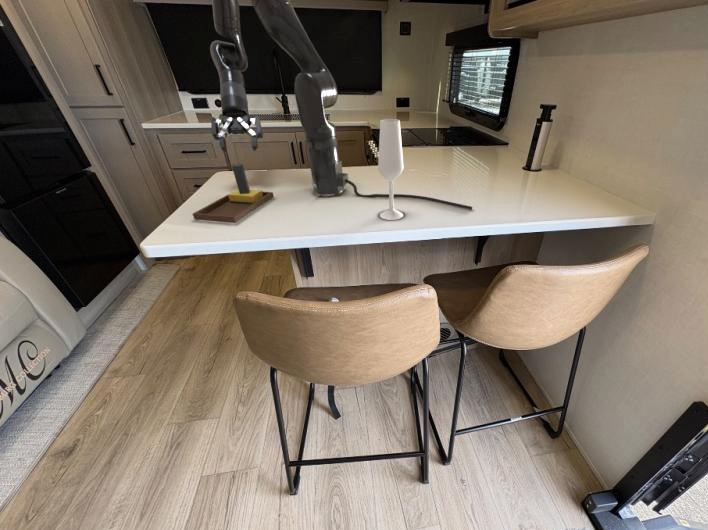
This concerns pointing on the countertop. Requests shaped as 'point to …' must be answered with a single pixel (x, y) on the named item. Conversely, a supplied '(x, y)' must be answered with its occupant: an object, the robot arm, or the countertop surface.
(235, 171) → the grey post with base
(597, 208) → the countertop surface
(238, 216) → the tray
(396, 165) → the champagne flute
